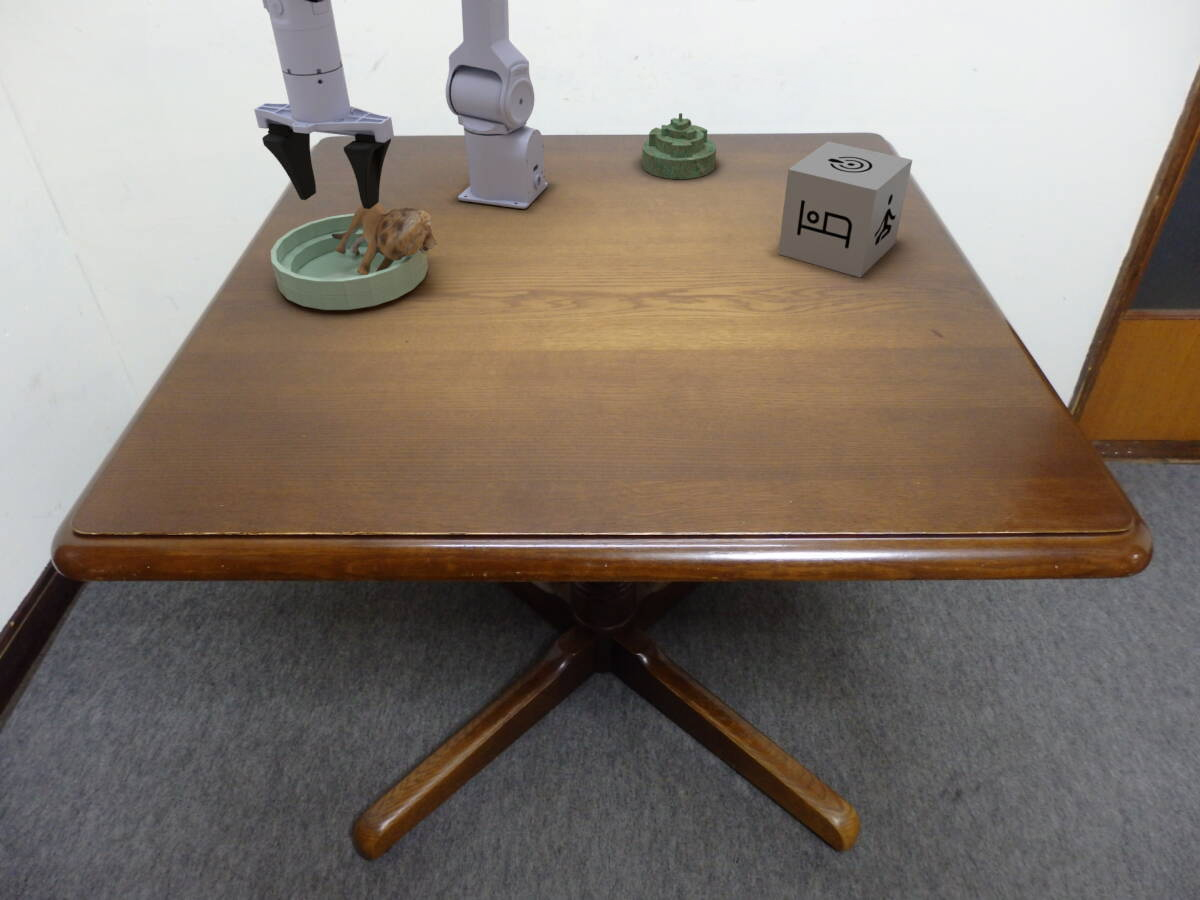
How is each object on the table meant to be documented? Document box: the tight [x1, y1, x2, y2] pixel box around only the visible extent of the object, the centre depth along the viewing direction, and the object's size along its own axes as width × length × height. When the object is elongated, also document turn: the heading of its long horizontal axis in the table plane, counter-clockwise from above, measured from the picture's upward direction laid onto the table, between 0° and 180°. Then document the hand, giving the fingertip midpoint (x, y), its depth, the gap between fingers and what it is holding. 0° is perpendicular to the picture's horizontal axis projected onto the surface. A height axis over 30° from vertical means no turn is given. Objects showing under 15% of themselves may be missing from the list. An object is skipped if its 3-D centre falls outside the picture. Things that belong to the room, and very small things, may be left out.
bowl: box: [270, 212, 429, 311], centre depth 100 cm, size 16×16×4 cm
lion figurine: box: [332, 202, 438, 275], centre depth 98 cm, size 15×5×9 cm
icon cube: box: [777, 141, 913, 278], centre depth 102 cm, size 10×10×10 cm
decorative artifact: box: [641, 112, 717, 180], centre depth 123 cm, size 10×7×10 cm
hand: (339, 200), depth 96 cm, fingers open, 7 cm apart
